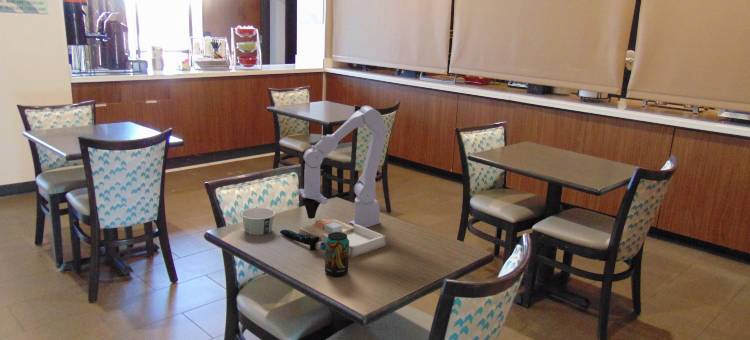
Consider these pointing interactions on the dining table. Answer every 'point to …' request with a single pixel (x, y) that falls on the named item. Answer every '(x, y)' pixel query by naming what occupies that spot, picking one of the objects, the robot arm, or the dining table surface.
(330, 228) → the blue tile
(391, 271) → the dining table surface
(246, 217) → the food container
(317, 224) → the terracotta tile
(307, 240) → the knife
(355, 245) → the box
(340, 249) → the beverage can
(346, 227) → the birch plate
